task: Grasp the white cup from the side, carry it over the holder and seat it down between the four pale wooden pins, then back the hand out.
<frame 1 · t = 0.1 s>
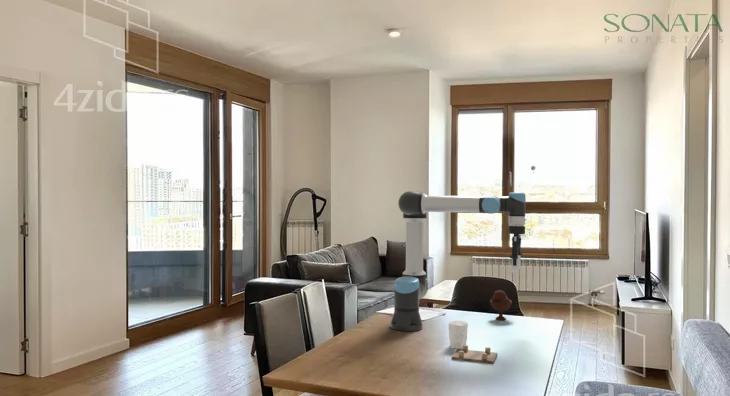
hand: (516, 270, 269), 28 cm above the table, tool pointing down, fingers open, 13 cm apart
white cup: (458, 347, 241), on the table
holder: (474, 357, 226), on the table
ice cream bowl: (500, 319, 292), on the table
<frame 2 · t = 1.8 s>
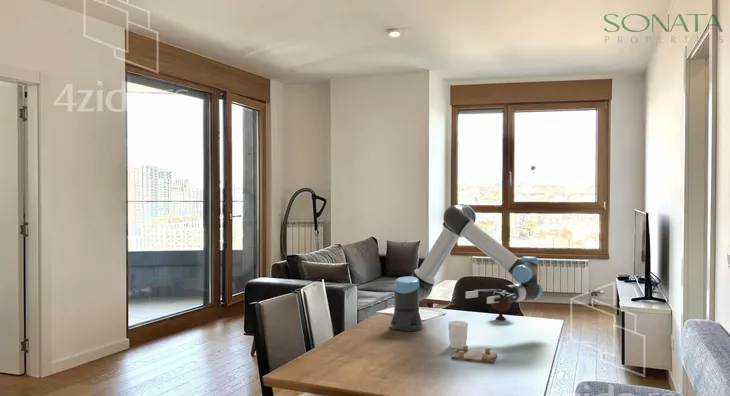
hand: (476, 297, 246), 20 cm above the table, tool horizontal, fingers open, 13 cm apart
nothing on the table moved.
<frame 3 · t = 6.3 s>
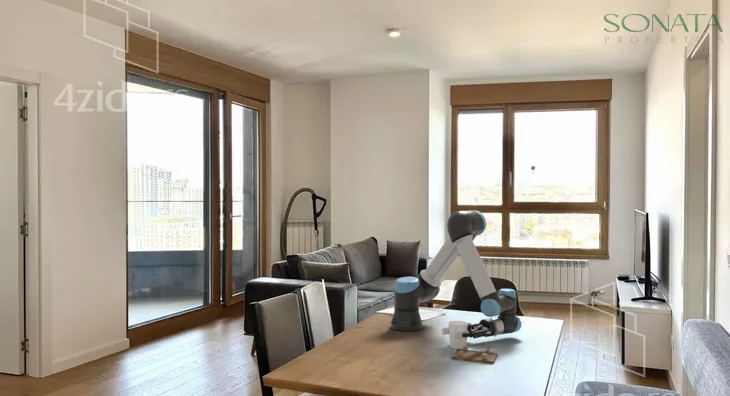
hand: (449, 333, 239), 6 cm above the table, tool horizontal, fingers closed on white cup, 7 cm apart
white cup: (458, 347, 241), on the table, touching gripper
everything else where it was.
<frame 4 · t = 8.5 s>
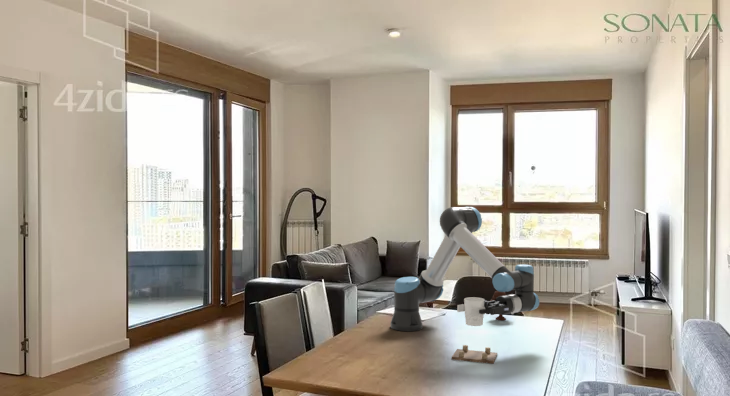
hand: (464, 310, 225), 19 cm above the table, tool horizontal, fingers closed on white cup, 7 cm apart
white cup: (474, 324, 228), point 12 cm above the table, touching gripper
everything else where it was.
when the fingers open (8 cm above the table, at t = 11.0 s): white cup drops 1 cm, resting on holder.
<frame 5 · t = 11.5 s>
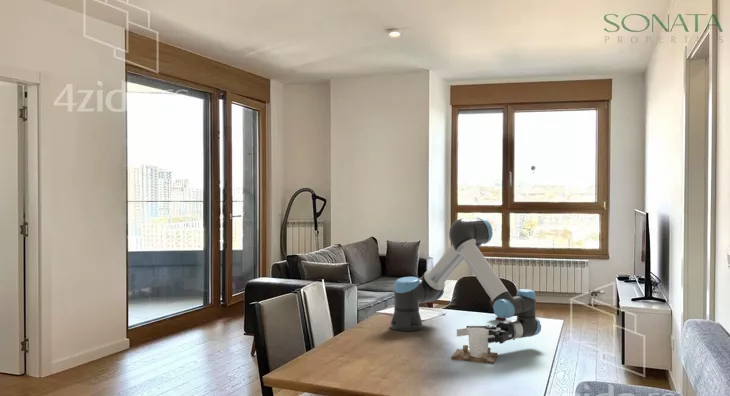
hand: (468, 336, 224), 8 cm above the table, tool horizontal, fingers open, 13 cm apart
white cup: (478, 356, 225), point 1 cm above the table, touching holder
everything else where it was.
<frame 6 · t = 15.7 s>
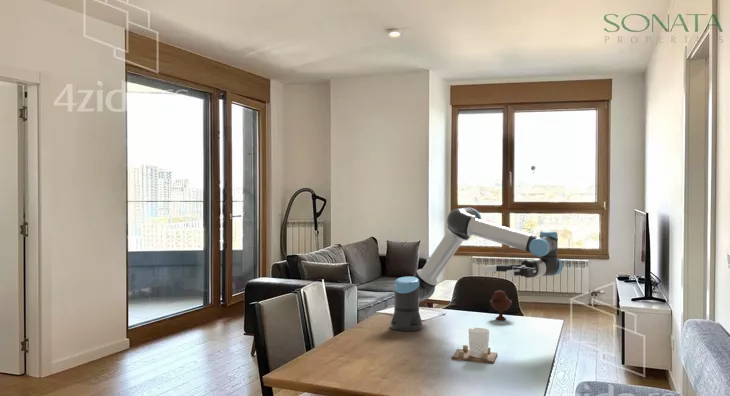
hand: (495, 271, 237), 32 cm above the table, tool horizontal, fingers open, 13 cm apart
nothing on the table moved.
at the end: white cup 1.7 cm off-centre on the holder, point 0.8 cm above the holder's base; white cup tilted 0°; the gripper is holding nothing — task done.
